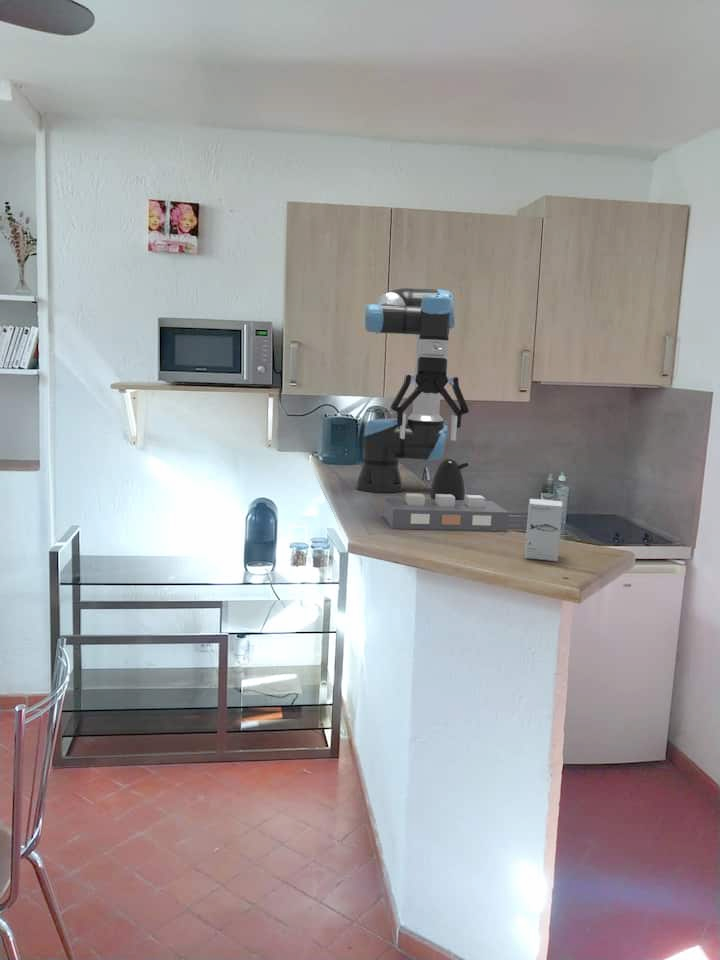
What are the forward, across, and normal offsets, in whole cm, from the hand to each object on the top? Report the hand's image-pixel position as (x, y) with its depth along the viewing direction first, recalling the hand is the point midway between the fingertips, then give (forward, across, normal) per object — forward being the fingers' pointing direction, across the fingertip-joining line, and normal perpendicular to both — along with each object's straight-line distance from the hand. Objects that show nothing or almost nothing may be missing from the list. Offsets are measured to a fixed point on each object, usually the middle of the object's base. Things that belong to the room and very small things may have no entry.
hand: (427, 439), depth 206 cm
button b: (+19, +6, 0) cm, 20 cm away
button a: (+19, -2, 0) cm, 19 cm away
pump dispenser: (+22, +11, +18) cm, 30 cm away
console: (+22, +6, 0) cm, 23 cm away
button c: (+19, +14, -1) cm, 23 cm away
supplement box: (+23, +20, -35) cm, 46 cm away
